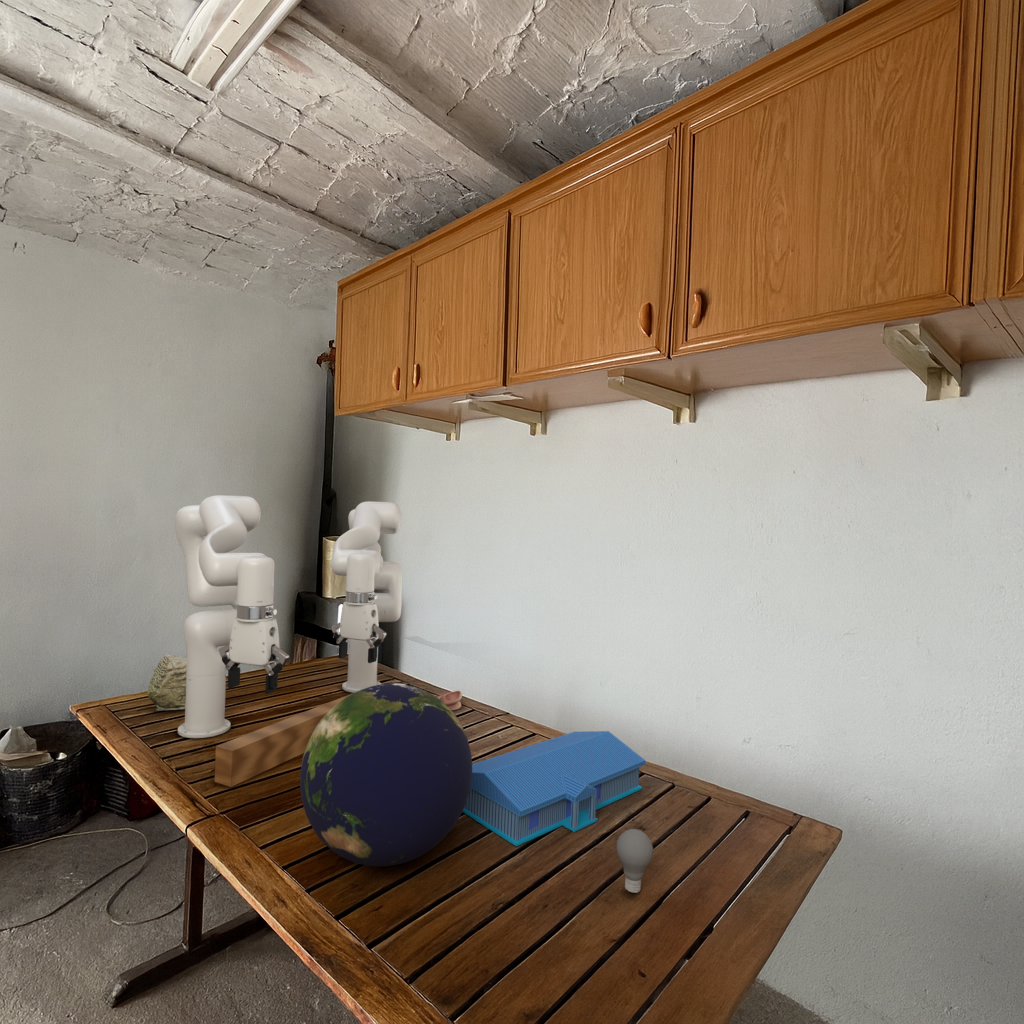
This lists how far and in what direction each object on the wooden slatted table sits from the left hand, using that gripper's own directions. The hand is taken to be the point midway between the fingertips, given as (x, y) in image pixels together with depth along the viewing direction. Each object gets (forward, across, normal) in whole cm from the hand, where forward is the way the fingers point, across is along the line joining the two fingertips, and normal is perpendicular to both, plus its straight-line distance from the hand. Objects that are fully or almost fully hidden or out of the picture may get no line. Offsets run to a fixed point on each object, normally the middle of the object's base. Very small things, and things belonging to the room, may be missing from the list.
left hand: (252, 689), depth 140 cm
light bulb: (+20, -85, +12) cm, 88 cm away
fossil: (+20, +48, -33) cm, 62 cm away
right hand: (+1, -5, -37) cm, 37 cm away
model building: (+20, -66, -15) cm, 71 cm away
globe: (+20, -42, +17) cm, 49 cm away
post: (+20, -1, -21) cm, 29 cm away
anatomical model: (+20, -20, -62) cm, 68 cm away
